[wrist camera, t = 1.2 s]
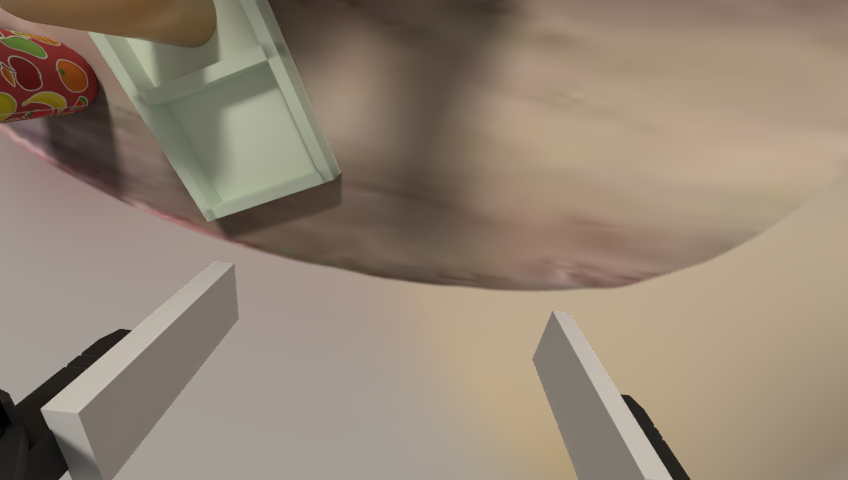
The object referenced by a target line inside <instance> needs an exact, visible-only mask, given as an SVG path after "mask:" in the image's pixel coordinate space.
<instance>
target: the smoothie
mask: <svg viewBox="0 0 848 480" xmlns="http://www.w3.org/2000/svg"><path fill="white" fill-rule="evenodd" d="M97 91H98V84H97V80H96V77H95V74H94V72H93V70H92V69H91V67H90V65H89V64H88V63H87V62H86V61H85V59H84V58H83V57H82V56H80V55H79V54H78V53H76V52H75V51H74V50H72V49H69V48H68V47H66V46H65V45H64V44H62V43H60V42H58V41H55V40H53V39H51V38H46V37H41V36H36V35H31V34H26V33H21V32H16V31H11V30H6V29H1V28H0V123H6V122H13V121H20V120H27V119H34V118H41V117H48V116H55V115H62V114H69V113H75V112H78V111H82V110H83V109H85V108H86V107H87V106H88V105H89V104H90V103H91V102H93V101H94V100H95V97H96V95H97Z"/></svg>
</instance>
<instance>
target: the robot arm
mask: <svg viewBox="0 0 848 480" xmlns="http://www.w3.org/2000/svg"><path fill="white" fill-rule="evenodd" d="M237 320H238V305H237V292H236V279H235V266H234V263H228V262H221V261H213V262H212V263H211V264H210V265H209V266H207V267H206V268H205V269H204V270H203V271H202V272H200V273H199V274H198V275H197V276H196V277H194V278H193V279H192V280H191V281H190V282H189V283H187V284H186V285H185V286H184V287H183V288H182V289H181V290H179V291H178V292H177V293H176V294H175V295H173V296H172V297H171V298H170V299H169V300H168V301H166V302H165V303H164V304H163V305H162V306H160V307H159V308H158V309H157V310H156V311H155V312H153V313H152V314H151V315H150V316H149V317H148V318H146V319H145V320H144V321H143V322H142V323H141V324H139V325H138V326H137V327H136V328H135V329H134V330H125V329H119V330H117V331H115V332H113V333H111V334H109V335H107V336H105V337H103V338H101V339H99V340H98V341H96V342H95V343H94V344H93V345H91V346H90V347H89V348H88V349H86V350H85V351H84V352H82V355H81V356H77V357H76V358H75V359H74V360H72V361H71V362H70V363H69V364H68V365H67V367H64V368H62V369H61V370H60V371H59V372H57V373H56V374H55V375H53V376H52V377H51V378H50V379H48V380H47V381H46V382H45V383H43V384H42V385H41V386H40V387H38V388H37V389H36V390H35V391H33V392H32V393H31V394H30V395H28V396H27V397H26V398H24V399H23V400H22V401H21V402H19V403H18V404H17V405H16V406H15V405H14V403H13V401H12V399H11V397H10V395H9V393H7V392H5V391H3V390H1V389H0V480H59V479H60V478H61V477H62V476H63V475H64V473H65V472H66V471H67V470H68V471H69V473H70V476H71V478H72V480H112V479H113V478H114V477H115V475H116V474H117V473H118V472H119V470H120V469H121V468H122V467H123V465H124V464H125V463H126V461H127V460H128V459H129V458H130V456H131V455H132V454H133V452H134V451H135V450H136V449H137V447H138V446H139V445H140V444H141V442H142V441H143V440H144V438H145V437H146V436H147V435H148V433H149V432H150V431H151V430H152V428H153V427H154V426H155V424H156V423H157V422H158V421H159V419H160V418H161V417H162V415H163V414H164V413H165V411H166V410H167V409H168V408H169V407H170V405H171V404H172V403H173V401H174V400H175V399H176V397H177V396H178V395H179V394H180V393H181V391H182V390H183V389H184V388H185V386H186V385H187V384H188V382H189V381H190V380H191V379H192V377H193V376H194V375H195V373H196V372H197V371H198V370H199V368H200V367H201V366H202V365H203V363H204V362H205V361H206V359H207V358H208V357H209V356H210V354H211V353H212V352H213V351H214V349H215V348H216V346H217V345H218V344H219V343H220V342H221V340H222V339H223V338H224V337H225V335H226V334H227V333H228V331H229V330H230V329H231V327H232V326H233V325H234V324H235V322H236V321H237ZM533 362H534V364H535V367H536V370H537V372H538V375H539V378H540V380H541V383H542V385H543V388H544V391H545V393H546V396H547V398H548V401H549V404H550V406H551V409H552V411H553V414H554V417H555V419H556V421H557V424H558V427H559V430H560V432H561V435H562V437H563V440H564V443H565V445H566V448H567V451H568V453H569V456H570V458H571V461H572V463H573V466H574V469H575V471H576V474H577V477H578V479H579V480H690V478H689V477H688V475H687V474H686V472H685V471H684V469H683V468H682V466H681V465H680V463H679V462H678V460H677V459H676V457H675V456H674V454H673V453H672V451H671V450H670V448H669V447H668V445H667V444H666V442H665V441H664V440H662V436H661V435H660V433H659V431H658V430H657V429H656V428H654V424H653V422H652V421H651V419H650V418H649V416H648V415H647V413H646V412H645V410H644V409H643V408H642V407H641V406H640V405H638V403H637V402H636V401H635V400H634V399H633V398H632V397H630V396H629V395H621V394H619V392H618V390H617V389H616V387H615V386H614V384H613V382H612V381H611V379H610V377H609V376H608V374H607V373H606V371H605V370H604V368H603V366H602V365H601V363H600V361H599V360H598V358H597V357H596V355H595V353H594V352H593V350H592V348H591V347H590V346H589V344H588V342H587V340H586V339H585V337H584V335H583V334H582V332H581V331H580V329H579V327H578V326H577V324H576V323H575V321H574V319H573V318H572V316H571V314H570V313H563V312H556V311H552V314H551V316H550V318H549V321H548V323H547V326H546V328H545V331H544V333H543V335H542V338H541V340H540V343H539V345H538V348H537V350H536V352H535V354H534V357H533Z"/></svg>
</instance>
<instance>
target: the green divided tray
mask: <svg viewBox="0 0 848 480" xmlns="http://www.w3.org/2000/svg"><path fill="white" fill-rule="evenodd" d="M213 2H214V5H215V9H216V15H217V23H216V28H215V32H214V34H213V36H212V37H211V39H210V40H209V41H208V42H207V43H206V44H204V45H202V46H200V47H197V48H186V47H180V46H174V45H168V44H162V43H156V42H150V41H144V40H138V39H132V38H126V37H120V36H114V35H108V34H102V33H96V32H90V31H87V32H88V33H89V35H90V36H91V38H92V40H93V41H94V43H95V44H96V46H97V47H98V49H99V51H100V52H101V54H102V55H103V57H104V59H105V60H106V62H107V63H108V65H109V66H110V68H111V70H112V71H113V73H114V74H115V76H116V78H117V79H118V81H119V82H120V84H121V85H122V87H123V89H124V90H125V92H126V93H127V95H128V96H129V98H130V100H131V101H132V103H133V104H134V106H135V108H136V109H137V111H138V112H139V114H140V115H141V117H142V119H143V120H144V122H145V123H146V125H147V127H148V128H149V130H150V131H151V133H152V134H153V136H154V138H155V139H156V141H157V142H158V144H159V146H160V147H161V149H162V150H163V152H164V153H165V155H166V157H167V158H168V160H169V161H170V163H171V165H172V166H173V168H174V169H175V171H176V172H177V174H178V176H179V177H180V179H181V180H182V182H183V183H184V185H185V187H186V188H187V190H188V191H189V193H190V195H191V196H192V198H193V199H194V201H195V202H196V204H197V206H198V207H199V209H200V210H201V212H202V214H203V215H204V217H205V218H206V220H207V221H208V222H209V221H212V220H215V219H218V218H221V217H224V216H227V215H230V214H233V213H236V212H239V211H242V210H245V209H248V208H251V207H254V206H257V205H260V204H263V203H266V202H269V201H272V200H275V199H278V198H281V197H284V196H287V195H290V194H293V193H296V192H299V191H302V190H305V189H308V188H311V187H314V186H317V185H320V184H323V183H326V182H329V181H332V180H334V179H335V178H336V177H337V176H338V175H339V174H340V173H341V170H340V167H339V165H338V163H337V160H336V158H335V156H334V153H333V151H332V149H331V146H330V144H329V142H328V139H327V137H326V135H325V132H324V130H323V128H322V125H321V123H320V121H319V118H318V116H317V114H316V111H315V109H314V107H313V104H312V102H311V100H310V97H309V95H308V93H307V90H306V88H305V86H304V83H303V81H302V79H301V77H300V74H299V72H298V70H297V67H296V65H295V63H294V60H293V58H292V56H291V53H290V51H289V49H288V46H287V44H286V42H285V39H284V37H283V35H282V32H281V30H280V28H279V25H278V23H277V21H276V18H275V16H274V14H273V11H272V9H271V7H270V4H269V2H268V0H213Z"/></svg>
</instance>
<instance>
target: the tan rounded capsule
mask: <svg viewBox="0 0 848 480" xmlns="http://www.w3.org/2000/svg"><path fill="white" fill-rule="evenodd" d="M0 7H1V8H3V9H4V10H6V11H7V12H9V13H11V14H13V15H14V16H16V17H19V18H21V19H24V20H27V21H30V22H36V23H42V24H48V25H54V26H60V27H66V28H72V29H78V30H84V31H90V32H96V33H102V34H108V35H114V36H120V37H126V38H132V39H138V40H144V41H150V42H156V43H162V44H168V45H174V46H180V47H186V48H197V47H200V46H202V45H204V44H206V43H207V42H208V41H209V40H210V39H211V37H212V36H213V34H214V32H215V28H216V23H217V15H216V9H215V5H214V2H213V0H0Z"/></svg>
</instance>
